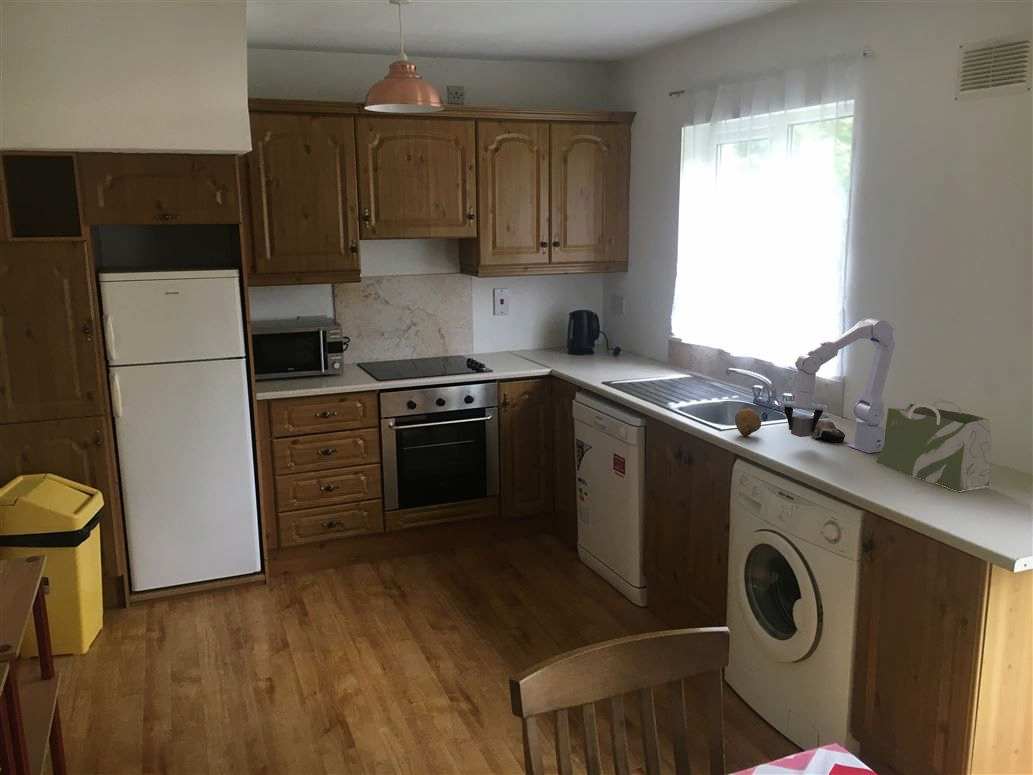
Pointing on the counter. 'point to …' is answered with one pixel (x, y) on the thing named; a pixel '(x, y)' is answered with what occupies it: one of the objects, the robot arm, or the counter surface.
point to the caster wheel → (828, 431)
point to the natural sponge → (747, 421)
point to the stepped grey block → (802, 426)
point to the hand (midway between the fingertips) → (801, 430)
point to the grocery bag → (938, 445)
